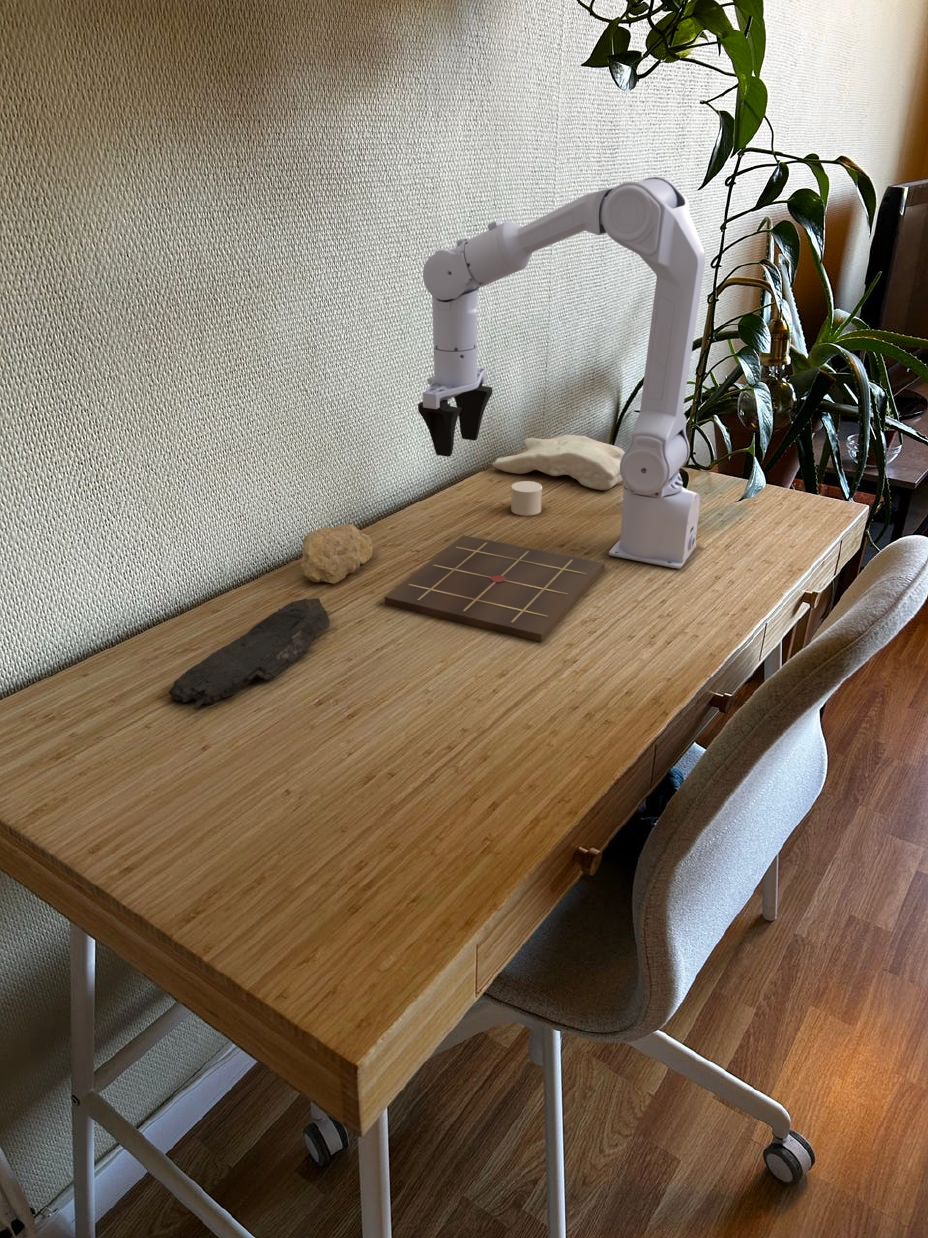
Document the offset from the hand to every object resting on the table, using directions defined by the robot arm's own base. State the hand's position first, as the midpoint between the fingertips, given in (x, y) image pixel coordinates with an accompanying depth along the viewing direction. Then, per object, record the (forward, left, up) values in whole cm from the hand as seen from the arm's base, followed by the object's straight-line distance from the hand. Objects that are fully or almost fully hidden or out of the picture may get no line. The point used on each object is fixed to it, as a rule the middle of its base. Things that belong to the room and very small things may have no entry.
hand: (457, 446), depth 126 cm
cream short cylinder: (-8, -6, -10) cm, 14 cm away
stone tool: (+6, +22, -10) cm, 25 cm away
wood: (0, +44, -10) cm, 45 cm away
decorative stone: (-7, -25, -10) cm, 28 cm away
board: (-15, +18, -10) cm, 26 cm away
